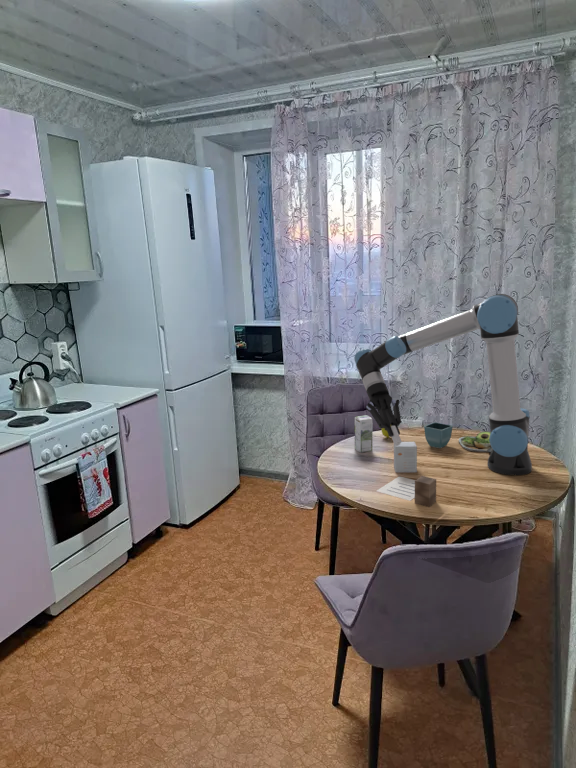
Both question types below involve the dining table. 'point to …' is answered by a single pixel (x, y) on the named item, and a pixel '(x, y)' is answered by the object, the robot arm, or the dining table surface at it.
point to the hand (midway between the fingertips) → (398, 443)
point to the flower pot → (438, 434)
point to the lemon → (385, 433)
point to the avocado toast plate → (477, 442)
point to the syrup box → (363, 433)
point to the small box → (405, 457)
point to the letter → (400, 488)
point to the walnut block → (425, 491)
